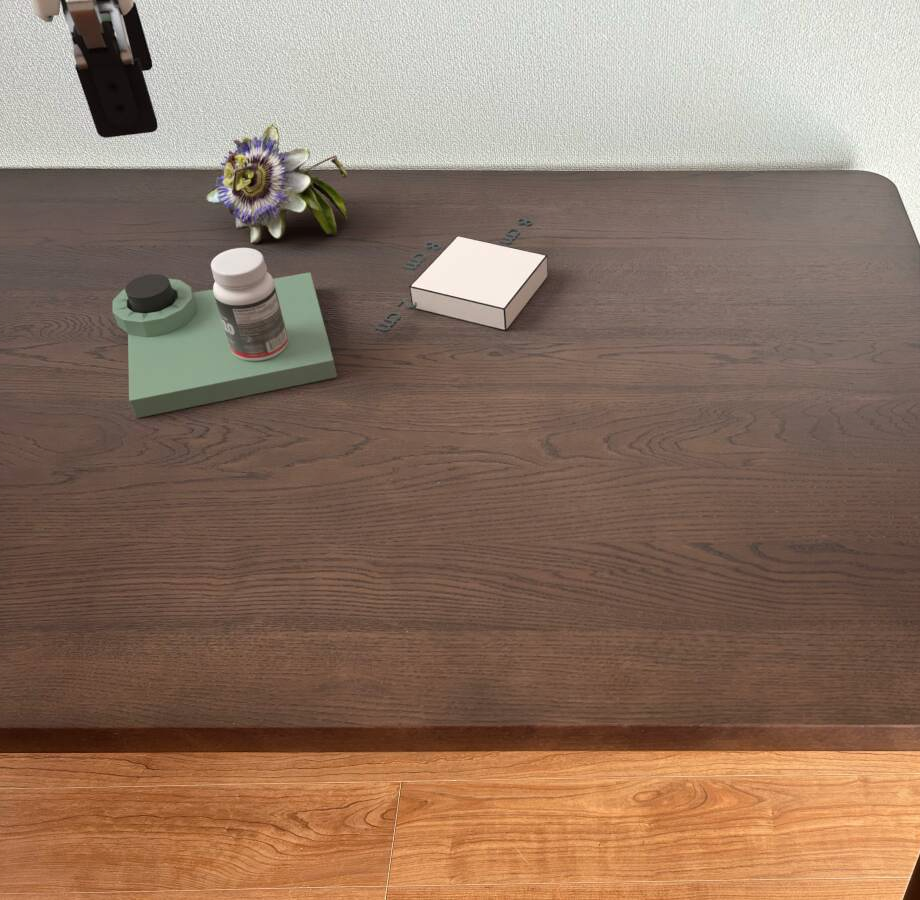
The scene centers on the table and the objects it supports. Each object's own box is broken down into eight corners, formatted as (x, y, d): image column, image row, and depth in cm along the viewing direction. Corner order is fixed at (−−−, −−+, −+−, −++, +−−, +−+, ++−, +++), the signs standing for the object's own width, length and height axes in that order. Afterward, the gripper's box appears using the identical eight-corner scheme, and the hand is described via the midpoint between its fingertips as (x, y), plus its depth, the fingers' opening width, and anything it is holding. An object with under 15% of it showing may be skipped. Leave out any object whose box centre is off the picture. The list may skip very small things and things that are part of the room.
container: (479, 365, 83) (476, 340, 81) (363, 336, 86) (358, 311, 84) (569, 249, 97) (568, 225, 95) (466, 227, 100) (464, 204, 98)
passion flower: (272, 285, 101) (176, 202, 94) (314, 218, 107) (228, 134, 101) (337, 251, 94) (240, 158, 88) (379, 181, 100) (291, 89, 94)
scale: (126, 420, 77) (111, 387, 75) (125, 318, 88) (112, 285, 85) (337, 377, 82) (330, 344, 79) (313, 284, 92) (306, 252, 89)
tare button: (131, 318, 82) (125, 301, 81) (131, 295, 85) (124, 278, 84) (176, 310, 83) (170, 293, 82) (174, 287, 86) (168, 270, 85)
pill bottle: (228, 335, 83) (202, 250, 77) (285, 324, 84) (263, 239, 78) (234, 368, 79) (207, 281, 74) (292, 356, 81) (270, 270, 75)
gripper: (-45, -265, 52) (65, 56, 64) (-90, -214, 40) (55, 170, 52) (105, -267, 54) (185, 44, 66) (103, -219, 42) (202, 151, 54)
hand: (128, 100), depth 59 cm, fingers open, 9 cm apart
